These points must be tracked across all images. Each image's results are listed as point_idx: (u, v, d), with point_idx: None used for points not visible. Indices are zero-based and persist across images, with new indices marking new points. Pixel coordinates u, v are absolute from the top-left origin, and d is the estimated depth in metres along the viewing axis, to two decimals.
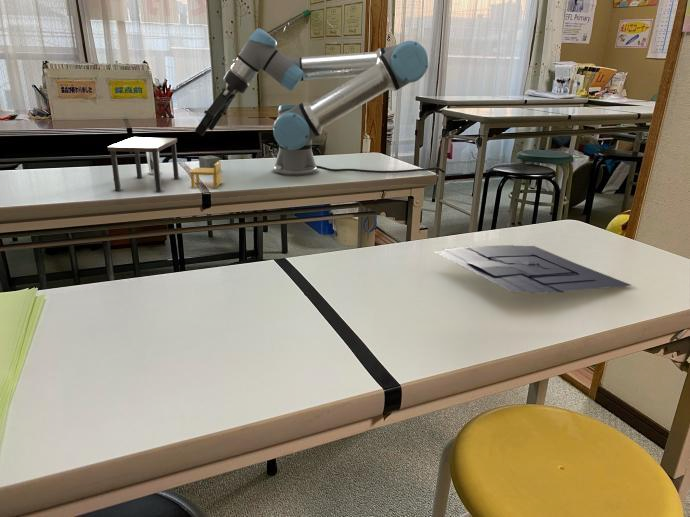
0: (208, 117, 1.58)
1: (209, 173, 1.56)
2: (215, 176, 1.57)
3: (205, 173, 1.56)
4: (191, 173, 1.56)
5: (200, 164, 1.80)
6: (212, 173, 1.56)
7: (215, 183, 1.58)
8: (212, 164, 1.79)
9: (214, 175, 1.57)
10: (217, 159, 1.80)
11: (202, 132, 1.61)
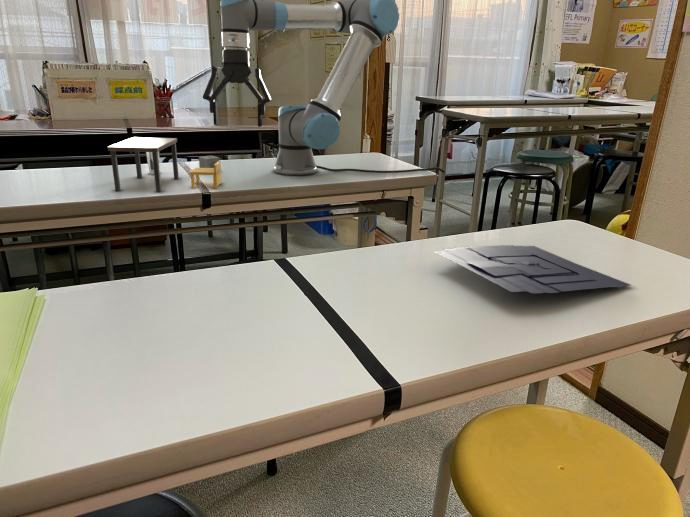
0: (264, 104, 1.53)
1: (209, 173, 1.56)
2: (215, 176, 1.57)
3: (205, 173, 1.56)
4: (191, 173, 1.56)
5: (200, 164, 1.80)
6: (212, 173, 1.56)
7: (215, 183, 1.58)
8: (212, 164, 1.79)
9: (214, 175, 1.57)
10: (217, 159, 1.80)
11: (261, 122, 1.56)
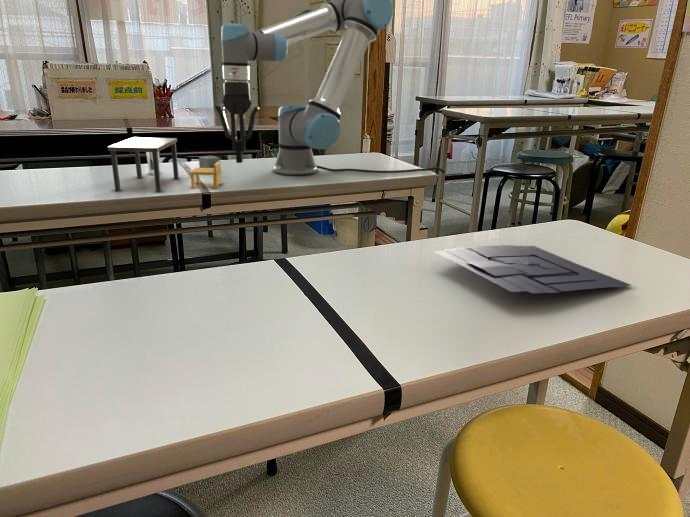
0: None
1: (209, 173, 1.56)
2: (215, 176, 1.57)
3: (205, 173, 1.56)
4: (191, 173, 1.56)
5: (200, 164, 1.80)
6: (212, 173, 1.56)
7: (215, 183, 1.58)
8: (212, 164, 1.79)
9: (214, 175, 1.57)
10: (217, 159, 1.80)
11: (242, 158, 1.59)
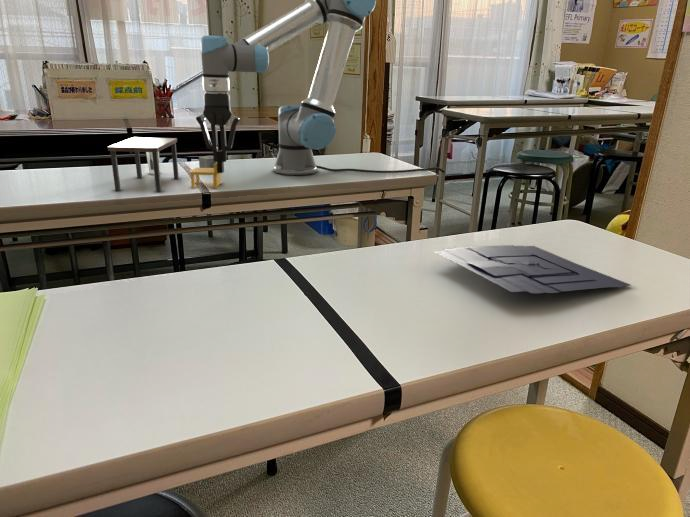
0: (226, 151, 1.58)
1: (209, 173, 1.56)
2: (215, 176, 1.57)
3: (205, 173, 1.56)
4: (191, 173, 1.56)
5: (200, 164, 1.80)
6: (212, 173, 1.56)
7: (215, 183, 1.58)
8: (212, 164, 1.79)
9: (214, 175, 1.57)
10: None
11: (223, 168, 1.60)
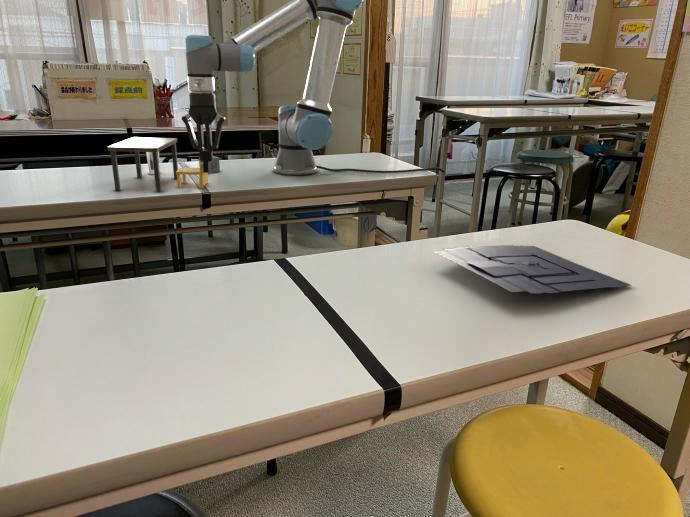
0: (212, 151, 1.57)
1: (195, 173, 1.56)
2: (201, 176, 1.57)
3: (191, 173, 1.56)
4: (177, 173, 1.56)
5: None
6: (198, 173, 1.56)
7: (201, 183, 1.57)
8: (212, 164, 1.79)
9: (200, 175, 1.56)
10: (217, 159, 1.80)
11: (209, 167, 1.60)
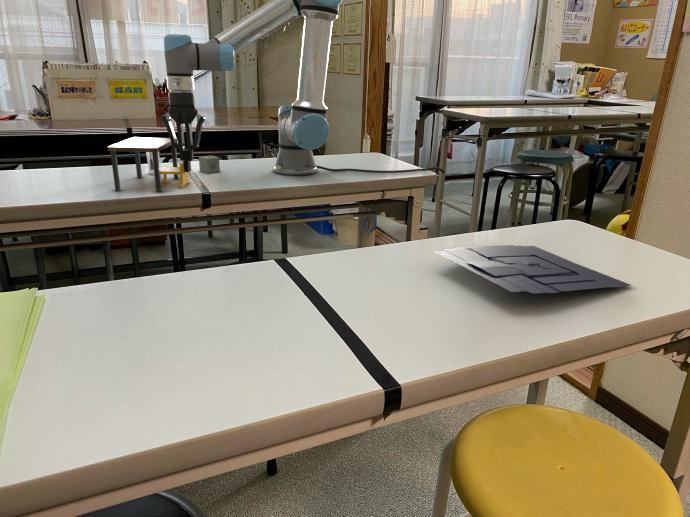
0: (192, 150, 1.57)
1: (175, 172, 1.56)
2: (181, 175, 1.56)
3: (171, 172, 1.56)
4: None
5: (200, 164, 1.80)
6: (178, 172, 1.56)
7: (181, 182, 1.57)
8: (212, 164, 1.79)
9: (180, 174, 1.56)
10: (217, 159, 1.80)
11: (190, 167, 1.60)
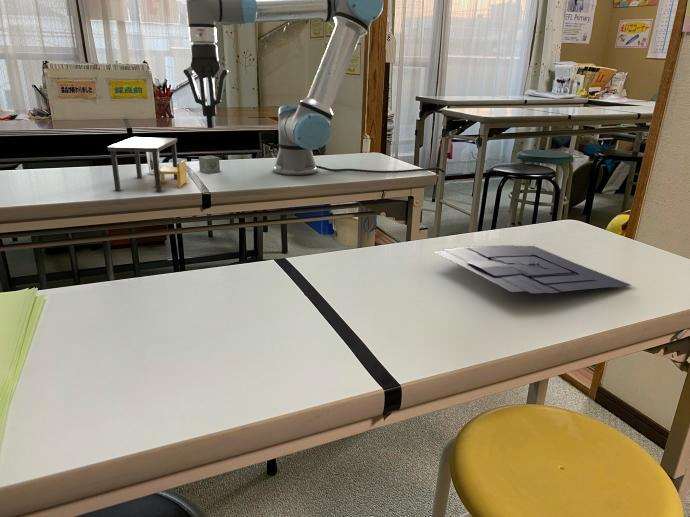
0: (215, 106, 1.55)
1: (173, 172, 1.56)
2: (179, 175, 1.56)
3: (169, 172, 1.56)
4: None
5: (200, 164, 1.80)
6: (176, 172, 1.56)
7: (179, 182, 1.57)
8: (212, 164, 1.79)
9: (178, 174, 1.56)
10: (217, 159, 1.80)
11: (213, 123, 1.57)
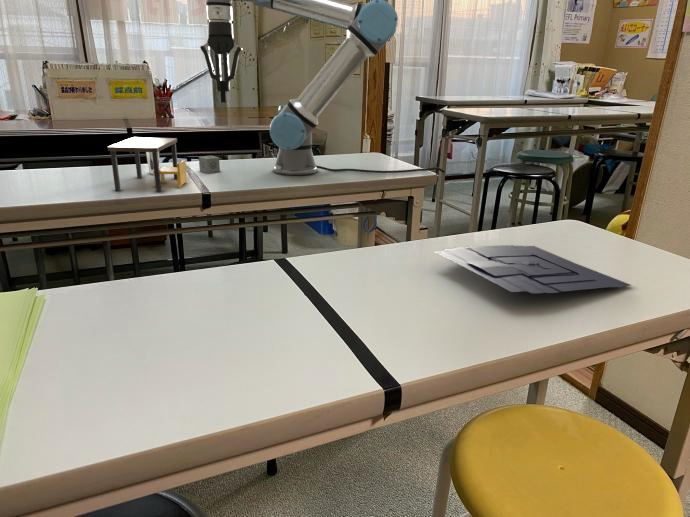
0: (229, 81, 1.64)
1: (173, 172, 1.56)
2: (179, 175, 1.56)
3: (169, 172, 1.56)
4: None
5: (200, 164, 1.80)
6: (176, 172, 1.56)
7: (179, 182, 1.57)
8: (212, 164, 1.79)
9: (178, 174, 1.56)
10: (217, 159, 1.80)
11: None
